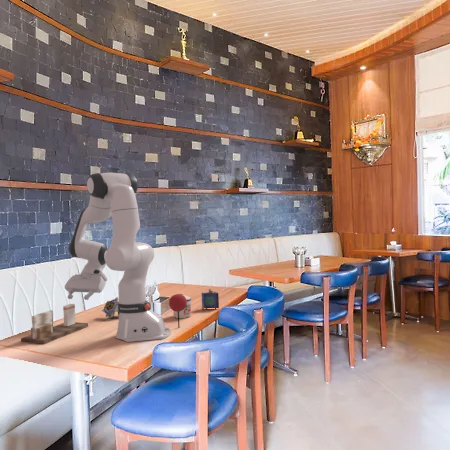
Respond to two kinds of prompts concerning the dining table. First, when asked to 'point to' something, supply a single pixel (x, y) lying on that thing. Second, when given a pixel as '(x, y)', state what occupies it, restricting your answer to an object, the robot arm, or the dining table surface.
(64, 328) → the board
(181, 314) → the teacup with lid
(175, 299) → the lollipop
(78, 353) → the dining table surface
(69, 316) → the white striped box
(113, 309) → the passion flower
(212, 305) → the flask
